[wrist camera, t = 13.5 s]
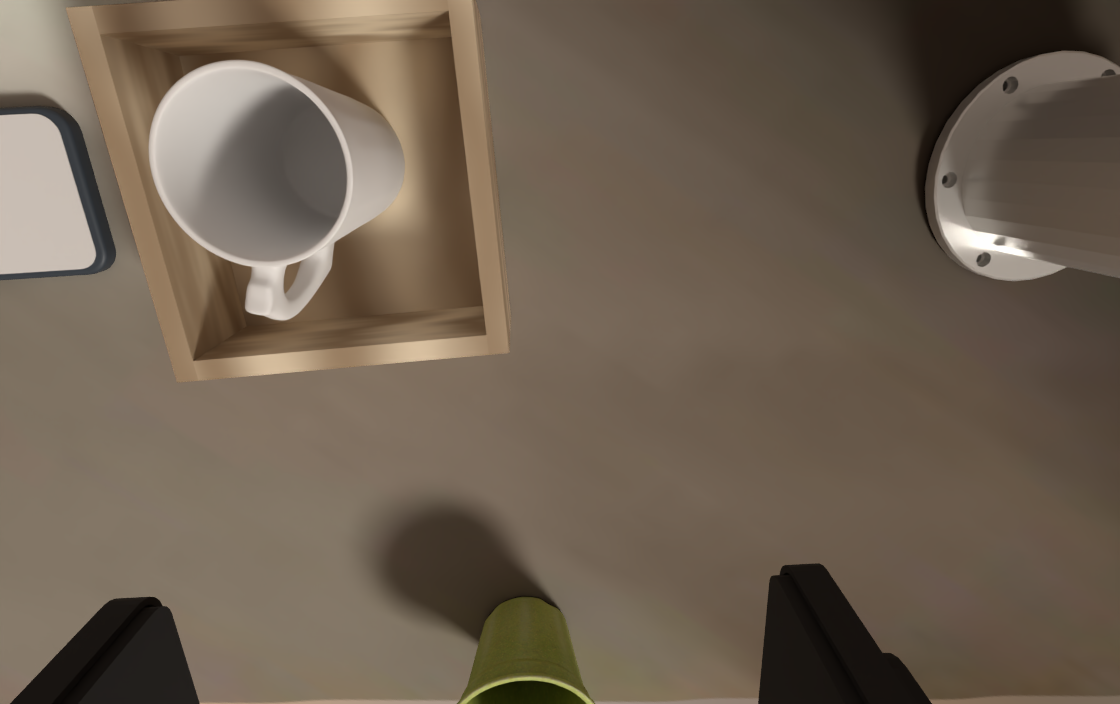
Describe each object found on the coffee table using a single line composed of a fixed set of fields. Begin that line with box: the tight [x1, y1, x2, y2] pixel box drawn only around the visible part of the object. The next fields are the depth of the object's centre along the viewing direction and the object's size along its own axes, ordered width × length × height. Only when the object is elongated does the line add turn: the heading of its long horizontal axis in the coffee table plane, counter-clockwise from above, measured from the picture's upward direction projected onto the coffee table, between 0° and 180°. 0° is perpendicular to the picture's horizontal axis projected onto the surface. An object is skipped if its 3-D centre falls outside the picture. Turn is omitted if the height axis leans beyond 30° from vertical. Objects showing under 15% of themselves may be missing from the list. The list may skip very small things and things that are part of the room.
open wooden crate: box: [66, 0, 511, 382], centre depth 30 cm, size 16×16×7 cm
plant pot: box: [457, 597, 595, 704], centre depth 40 cm, size 9×9×9 cm
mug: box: [148, 60, 405, 320], centre depth 27 cm, size 10×7×12 cm, turn 167°
